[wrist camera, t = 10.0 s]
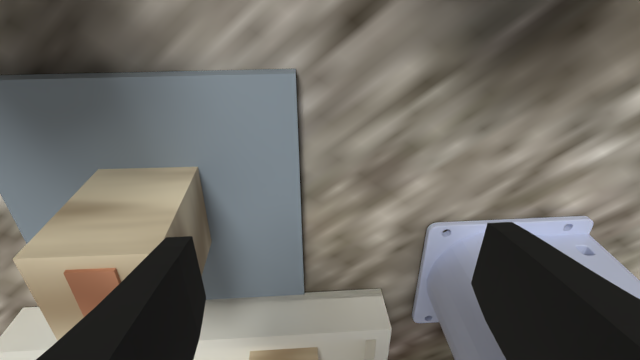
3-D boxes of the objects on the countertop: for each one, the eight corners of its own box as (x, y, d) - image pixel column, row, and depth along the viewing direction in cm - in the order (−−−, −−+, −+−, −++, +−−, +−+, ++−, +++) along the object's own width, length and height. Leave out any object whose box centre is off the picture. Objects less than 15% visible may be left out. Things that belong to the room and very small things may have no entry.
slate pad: (295, 68, 16) (295, 73, 15) (303, 284, 23) (304, 294, 22) (-43, 76, 15) (-59, 81, 15) (67, 296, 22) (60, 307, 21)
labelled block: (211, 241, 19) (181, 345, 14) (124, 245, 19) (59, 351, 14) (198, 166, 17) (155, 256, 12) (98, 169, 17) (9, 262, 12)
